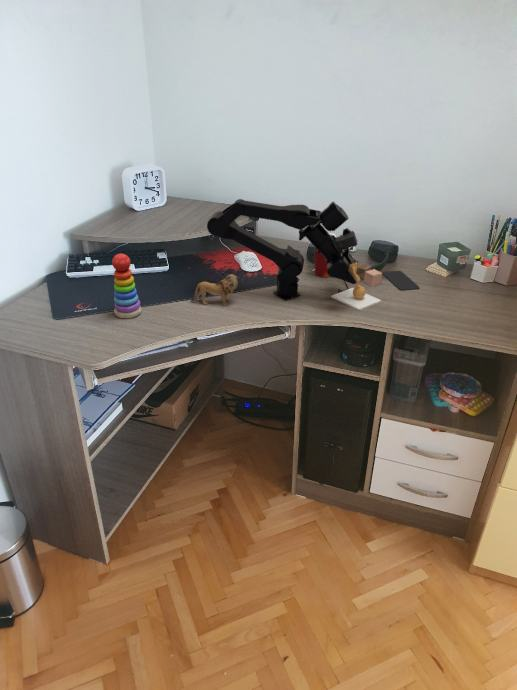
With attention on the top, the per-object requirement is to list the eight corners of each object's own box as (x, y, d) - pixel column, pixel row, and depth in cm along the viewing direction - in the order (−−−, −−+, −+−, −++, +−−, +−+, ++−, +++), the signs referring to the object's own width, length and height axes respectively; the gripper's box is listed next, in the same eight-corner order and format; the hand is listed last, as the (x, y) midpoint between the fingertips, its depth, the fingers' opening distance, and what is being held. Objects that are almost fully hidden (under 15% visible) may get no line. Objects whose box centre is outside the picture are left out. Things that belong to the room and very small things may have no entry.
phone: (400, 289, 178) (381, 271, 191) (399, 292, 179) (380, 274, 191) (420, 288, 180) (400, 270, 192) (420, 290, 180) (400, 272, 193)
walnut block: (354, 277, 188) (355, 266, 186) (360, 274, 190) (361, 263, 188) (364, 280, 186) (365, 269, 184) (370, 277, 188) (371, 266, 186)
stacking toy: (112, 309, 165) (104, 250, 155) (138, 305, 167) (132, 247, 158) (117, 321, 158) (109, 260, 149) (144, 316, 161) (138, 256, 152)
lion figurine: (237, 297, 173) (237, 271, 168) (238, 305, 168) (238, 278, 164) (190, 299, 172) (189, 272, 167) (190, 306, 167) (188, 279, 162)
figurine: (366, 303, 169) (371, 267, 162) (347, 303, 169) (351, 267, 163) (362, 292, 176) (366, 257, 170) (344, 292, 176) (347, 256, 170)
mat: (331, 297, 174) (331, 295, 173) (352, 289, 179) (353, 287, 179) (359, 310, 166) (359, 309, 165) (381, 302, 171) (381, 300, 171)
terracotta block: (363, 282, 184) (365, 271, 182) (372, 280, 186) (374, 269, 184) (371, 286, 181) (373, 275, 179) (380, 284, 183) (382, 273, 181)
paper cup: (335, 278, 186) (338, 239, 179) (312, 278, 186) (315, 239, 179) (332, 270, 193) (336, 231, 186) (311, 269, 193) (313, 231, 186)
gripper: (342, 233, 153) (377, 273, 157) (343, 214, 169) (375, 250, 173) (312, 258, 158) (347, 295, 162) (316, 236, 174) (347, 271, 178)
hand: (355, 277), depth 169 cm, fingers open, 9 cm apart
